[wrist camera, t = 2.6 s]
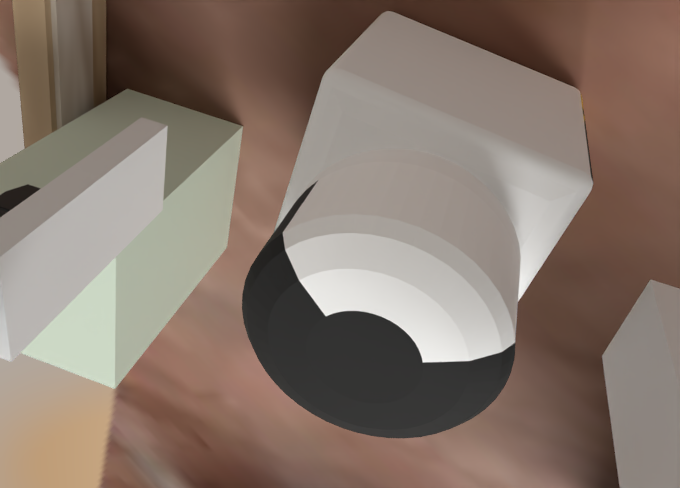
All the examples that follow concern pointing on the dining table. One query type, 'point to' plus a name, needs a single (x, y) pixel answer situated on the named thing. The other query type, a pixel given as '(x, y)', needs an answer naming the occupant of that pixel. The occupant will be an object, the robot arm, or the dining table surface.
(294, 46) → the dining table surface
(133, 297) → the sage carton
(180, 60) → the dining table surface
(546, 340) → the dining table surface
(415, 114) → the medicine bottle
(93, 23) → the rail
